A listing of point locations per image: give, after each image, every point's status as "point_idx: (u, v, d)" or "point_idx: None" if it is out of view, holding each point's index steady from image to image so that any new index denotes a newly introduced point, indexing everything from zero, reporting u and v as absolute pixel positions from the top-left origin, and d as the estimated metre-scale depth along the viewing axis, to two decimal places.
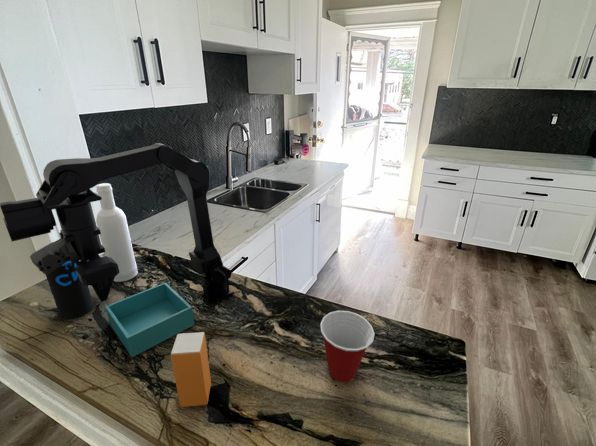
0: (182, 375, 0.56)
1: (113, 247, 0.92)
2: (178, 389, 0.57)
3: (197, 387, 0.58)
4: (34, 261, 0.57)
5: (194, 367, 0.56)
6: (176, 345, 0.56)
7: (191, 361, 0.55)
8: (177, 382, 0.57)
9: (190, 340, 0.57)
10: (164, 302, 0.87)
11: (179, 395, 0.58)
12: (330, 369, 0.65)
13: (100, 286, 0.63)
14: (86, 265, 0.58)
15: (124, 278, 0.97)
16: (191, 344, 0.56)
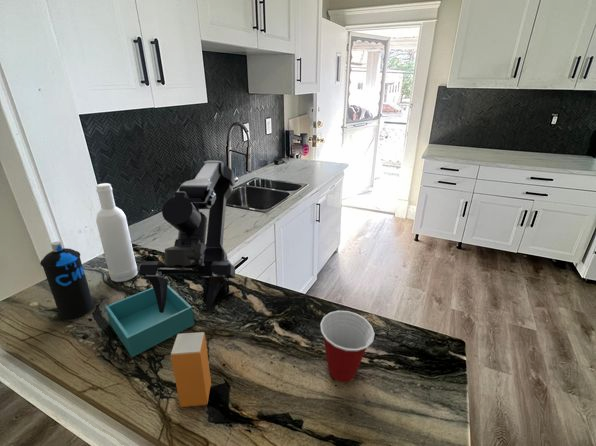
0: (182, 375, 0.56)
1: (113, 247, 0.92)
2: (178, 389, 0.57)
3: (197, 387, 0.58)
4: (184, 249, 0.59)
5: (194, 367, 0.56)
6: (176, 345, 0.56)
7: (191, 361, 0.55)
8: (177, 382, 0.57)
9: (190, 340, 0.57)
10: None
11: (179, 395, 0.58)
12: (330, 369, 0.65)
13: (214, 292, 0.65)
14: None
15: (124, 278, 0.97)
16: (191, 344, 0.56)
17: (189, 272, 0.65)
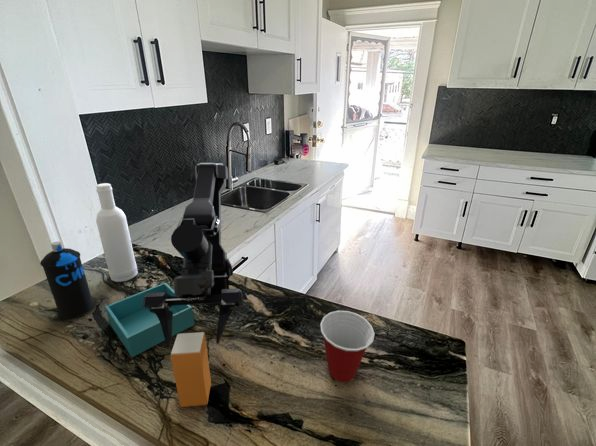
0: (182, 375, 0.56)
1: (113, 247, 0.92)
2: (178, 389, 0.57)
3: (197, 387, 0.58)
4: (195, 277, 0.57)
5: (194, 367, 0.56)
6: (176, 345, 0.56)
7: (191, 361, 0.55)
8: (177, 382, 0.57)
9: (190, 340, 0.57)
10: None
11: (179, 395, 0.58)
12: (330, 369, 0.65)
13: None
14: None
15: (124, 278, 0.97)
16: (191, 344, 0.56)
17: (197, 302, 0.63)
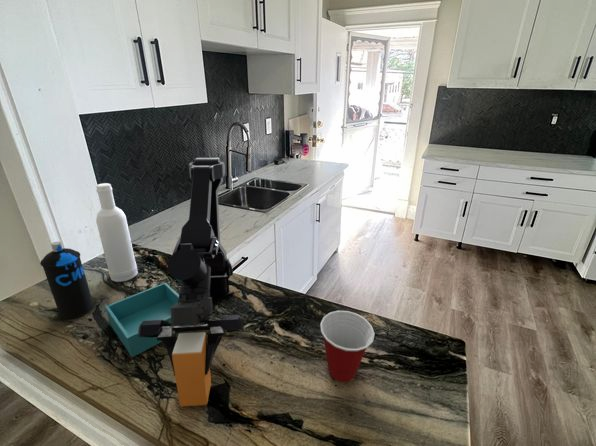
0: (183, 375, 0.56)
1: (113, 247, 0.92)
2: (178, 389, 0.57)
3: (197, 387, 0.58)
4: (192, 306, 0.55)
5: (195, 367, 0.56)
6: (177, 345, 0.56)
7: (192, 361, 0.55)
8: (177, 382, 0.57)
9: (192, 340, 0.57)
10: (164, 302, 0.87)
11: (179, 395, 0.58)
12: (330, 369, 0.65)
13: None
14: None
15: (124, 278, 0.97)
16: (192, 344, 0.56)
17: (184, 330, 0.60)
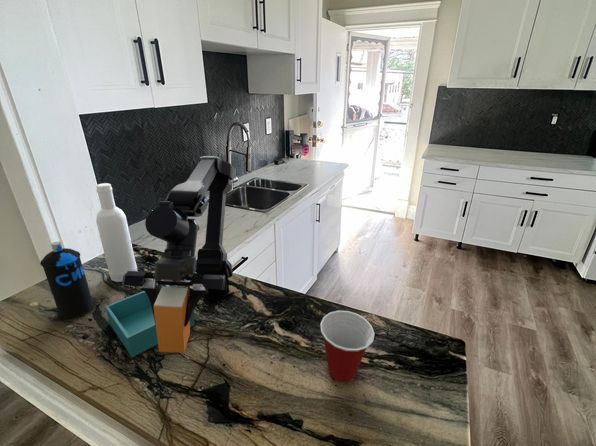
0: (163, 325, 0.59)
1: (113, 247, 0.92)
2: (158, 336, 0.61)
3: (176, 336, 0.61)
4: (176, 263, 0.56)
5: (175, 320, 0.59)
6: (160, 297, 0.58)
7: (173, 314, 0.58)
8: (158, 330, 0.60)
9: (173, 294, 0.59)
10: None
11: (159, 341, 0.62)
12: (330, 369, 0.65)
13: None
14: (211, 275, 0.63)
15: None
16: (174, 298, 0.59)
17: (167, 283, 0.63)
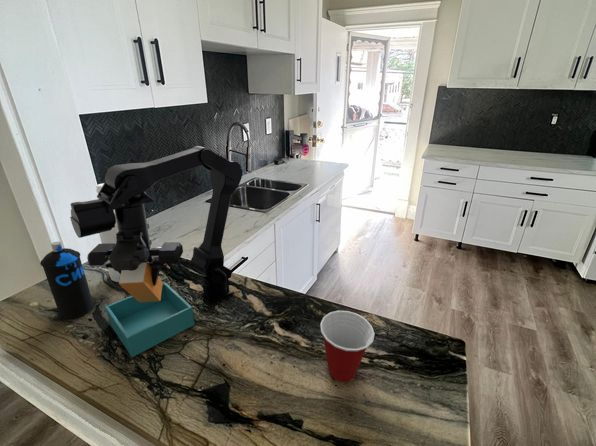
0: (134, 291, 0.71)
1: None
2: (133, 296, 0.74)
3: (148, 295, 0.74)
4: (128, 259, 0.63)
5: (142, 288, 0.70)
6: (123, 274, 0.68)
7: (138, 285, 0.69)
8: (131, 294, 0.72)
9: (134, 270, 0.69)
10: (164, 302, 0.87)
11: (135, 298, 0.75)
12: (330, 369, 0.65)
13: None
14: (166, 249, 0.70)
15: None
16: (135, 274, 0.68)
17: None
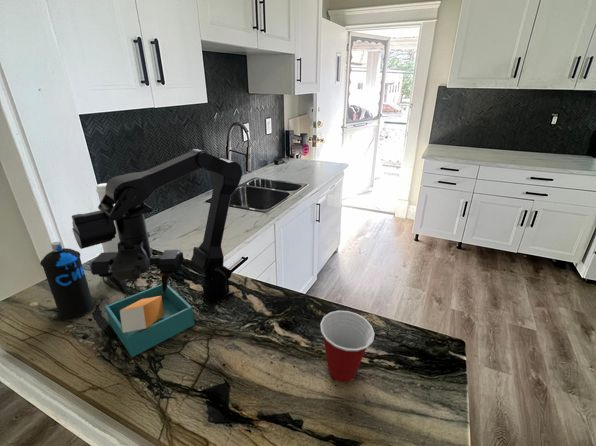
0: None
1: (113, 247, 0.92)
2: None
3: None
4: (129, 269, 0.64)
5: None
6: (124, 324, 0.68)
7: None
8: None
9: (134, 317, 0.68)
10: (164, 302, 0.87)
11: None
12: (330, 369, 0.65)
13: None
14: (167, 257, 0.71)
15: None
16: (136, 321, 0.68)
17: None
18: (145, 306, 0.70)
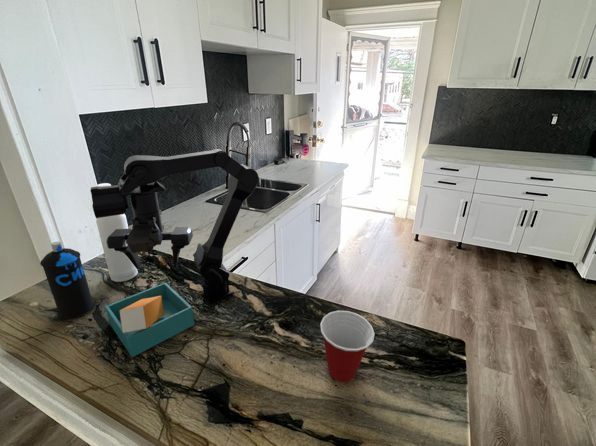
0: None
1: None
2: None
3: None
4: (144, 241, 0.69)
5: None
6: (124, 324, 0.68)
7: None
8: None
9: (134, 317, 0.68)
10: (164, 302, 0.87)
11: None
12: (330, 369, 0.65)
13: None
14: (178, 233, 0.76)
15: (124, 278, 0.97)
16: (136, 321, 0.68)
17: None
18: (145, 306, 0.70)
